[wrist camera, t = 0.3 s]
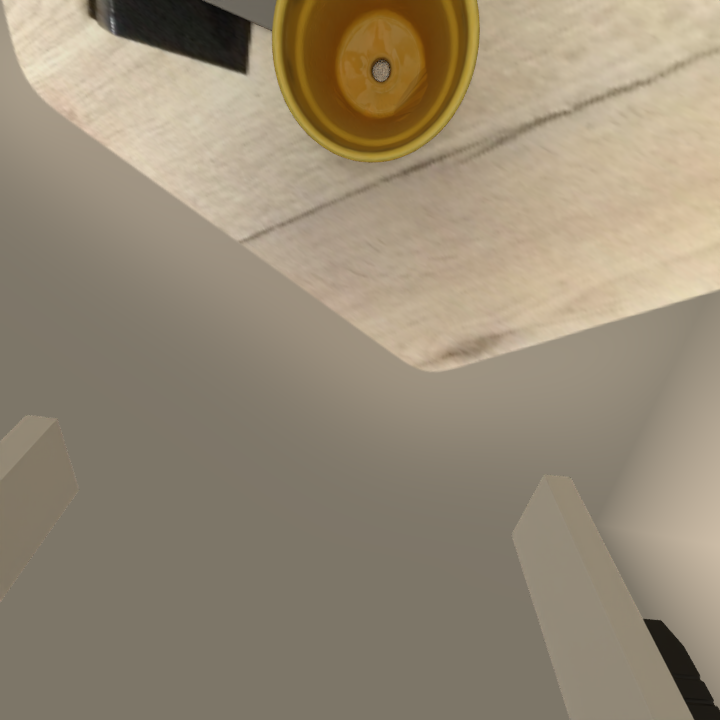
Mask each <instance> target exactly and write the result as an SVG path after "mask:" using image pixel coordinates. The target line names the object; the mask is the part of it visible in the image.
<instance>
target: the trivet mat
mask: <svg viewBox="0 0 720 720" xmlns="http://www.w3.org/2000/svg"><path fill="white" fill-rule="evenodd" d="M202 1H205V2H207V3H209V4H212V5H214V6H216V7H218V8H221V9H223V10H225V11H228V12H230V13H232V14H234V15H237V16H239V17H241V18H244V19H246V20H248V21H250V22H253V23H255V24H257V25H260V26H262V27H264V28H266V29H269V30H271V31H272V27H273V18H274V11H275V6H276V1H277V0H202Z"/></svg>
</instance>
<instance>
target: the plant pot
mask: <svg viewBox="0 0 720 720" xmlns="http://www.w3.org/2000/svg"><path fill="white" fill-rule="evenodd" d="M479 33H480V27H479V11H478V4H477V0H277V1H276V6H275V11H274V18H273V27H272V51H273V60H274V67H275V72H276V76H277V80H278V84H279V86H280V89H281V92H282V95H283V97H284V100H285V102H286V104H287V106H288V108H289V110H290V112H291V113H292V115H293V116H294V118H295V119H296V121H297V122H298V124H299V125H300V126H301V127H302V128H303V129H304V131H305V132H306V133H307V134H308V135H309V136H310V137H311V138H312V139H313V140H315V141H316V142H317V143H318V144H320V145H321V146H323V147H324V148H325V149H327V150H329V151H330V152H332V153H334V154H336V155H338V156H341V157H344V158H346V159H350V160H354V161H360V162H384V161H390V160H394V159H397V158H400V157H403V156H405V155H408V154H410V153H412V152H414V151H416V150H417V149H419V148H421V147H422V146H423V145H425V144H426V143H428V142H429V141H430V140H431V139H433V138H434V137H435V136H436V135H437V134H438V133H439V132H440V131H441V130H442V129H443V128H444V127H445V126H446V124H447V123H448V122H449V121H450V119H451V118H452V117H453V115H454V114H455V112H456V110H457V109H458V107H459V105H460V104H461V102H462V100H463V98H464V96H465V94H466V92H467V89H468V87H469V84H470V81H471V79H472V75H473V72H474V69H475V64H476V59H477V54H478V47H479ZM381 59H383V60H386V61H387V62H388V63H389V65H390V74H389V77H388V78H387V79H386V80H385V81H383V82H379V81H377V80H375V78H374V77H373V74H372V69H373V65H374V64H375V63H376V62H377V61H378V60H381Z"/></svg>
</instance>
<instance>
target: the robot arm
mask: <svg viewBox="0 0 720 720" xmlns="http://www.w3.org/2000/svg"><path fill="white" fill-rule="evenodd" d="M78 491H79V487H78V484H77V481H76V477H75V474H74V471H73V468H72V464H71V462H70V458H69V455H68V451H67V448H66V445H65V442H64V438H63V435H62V432H61V429H60V426H59V422H58V419H56V418H49V417H40V416H31V415H26V416H25V417H24V418H23V419H22V420H21V421H20V422H19V423H18V424H17V425H16V426H15V427H14V428H13V429H12V430H11V431H10V432H9V433H8V434H7V435H6V436H5V437H4V438H3V439H2V440H1V441H0V602H1V600H2V599H3V598H4V596H5V595H6V593H7V592H8V591H9V589H10V588H11V586H12V585H13V583H14V582H15V580H16V579H17V578H18V576H19V575H20V573H21V572H22V571H23V569H24V568H25V566H26V565H27V563H28V562H29V561H30V559H31V558H32V556H33V555H34V553H35V552H36V550H37V549H38V548H39V546H40V545H41V543H42V542H43V540H44V539H45V538H46V536H47V535H48V533H49V532H50V531H51V529H52V528H53V526H54V525H55V523H56V522H57V521H58V519H59V517H60V516H61V515H62V513H63V512H64V511H65V509H66V508H67V506H68V505H69V504H70V502H71V501H72V499H73V498H74V496H75V495H76V493H77V492H78ZM512 538H513V541H514V544H515V548H516V550H517V554H518V557H519V560H520V563H521V566H522V570H523V573H524V576H525V579H526V582H527V585H528V589H529V592H530V595H531V598H532V601H533V604H534V608H535V611H536V614H537V617H538V620H539V623H540V626H541V629H542V633H543V636H544V639H545V642H546V645H547V649H548V651H549V655H550V658H551V661H552V664H553V667H554V671H555V674H556V677H557V680H558V683H559V687H560V689H561V693H562V696H563V699H564V702H565V705H566V709H567V712H568V715H569V718H570V720H720V710H719V708H718V707H717V706H715V705H714V703H713V701H714V700H713V698H712V696H711V694H710V692H709V691H708V689H707V687H706V685H705V683H704V682H703V681H701V680H700V674H699V673H698V671H697V669H696V668H695V665H694V664H693V662H692V660H691V659H690V656H689V655H688V653H687V651H686V649H685V648H684V646H683V645H682V644H681V643H680V642H679V640H678V639H677V638H676V637H675V636H674V635H673V633H672V632H671V631H670V630H669V629H668V628H667V627H666V625H665V624H664V623H663V622H662V621H661V620H650V619H642V617H641V615H640V613H639V611H638V609H637V607H636V605H635V603H634V601H633V599H632V597H631V595H630V593H629V591H628V589H627V587H626V585H625V583H624V581H623V580H622V577H621V576H620V573H619V572H618V570H617V568H616V566H615V564H614V562H613V560H612V558H611V556H610V554H609V552H608V550H607V548H606V546H605V544H604V542H603V540H602V538H601V536H600V534H599V532H598V530H597V528H596V526H595V525H594V523H593V521H592V519H591V517H590V515H589V513H588V511H587V509H586V507H585V505H584V503H583V501H582V499H581V497H580V495H579V493H578V491H577V489H576V487H575V485H574V483H573V482H572V479H571V477H564V476H555V475H546V474H544V475H543V477H542V479H541V481H540V483H539V485H538V487H537V488H536V490H535V492H534V494H533V496H532V498H531V500H530V501H529V503H528V505H527V507H526V509H525V511H524V512H523V514H522V516H521V518H520V520H519V522H518V524H517V525H516V527H515V529H514V531H513V533H512Z"/></svg>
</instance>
